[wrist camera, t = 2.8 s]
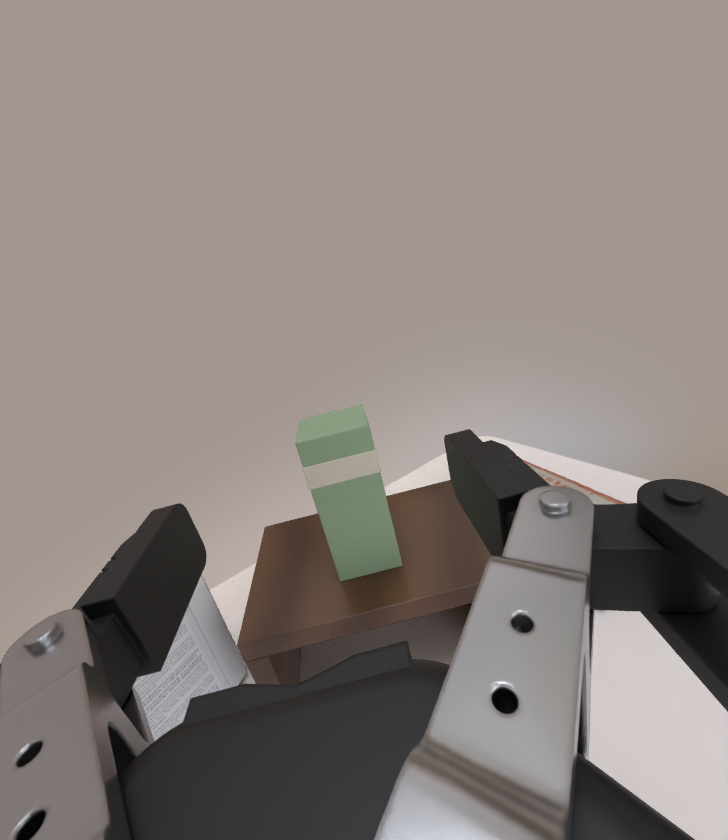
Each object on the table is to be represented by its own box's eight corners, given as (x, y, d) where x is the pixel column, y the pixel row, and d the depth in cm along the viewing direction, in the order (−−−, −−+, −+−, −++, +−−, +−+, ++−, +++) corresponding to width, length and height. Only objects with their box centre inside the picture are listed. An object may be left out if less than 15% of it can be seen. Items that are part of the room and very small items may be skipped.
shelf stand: (275, 724, 26) (236, 646, 23) (290, 590, 37) (264, 526, 34) (524, 659, 26) (516, 573, 23) (464, 546, 37) (454, 478, 35)
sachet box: (339, 583, 26) (294, 443, 22) (337, 544, 30) (298, 419, 26) (403, 566, 26) (369, 424, 22) (393, 529, 30) (362, 403, 26)
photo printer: (227, 647, 33) (169, 535, 28) (258, 669, 30) (199, 550, 26) (103, 777, 25) (-2, 654, 21) (130, 820, 23) (16, 691, 18)
